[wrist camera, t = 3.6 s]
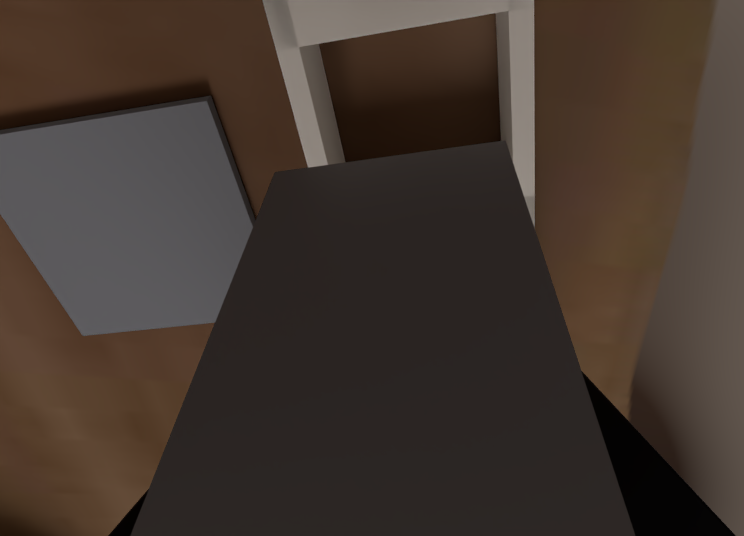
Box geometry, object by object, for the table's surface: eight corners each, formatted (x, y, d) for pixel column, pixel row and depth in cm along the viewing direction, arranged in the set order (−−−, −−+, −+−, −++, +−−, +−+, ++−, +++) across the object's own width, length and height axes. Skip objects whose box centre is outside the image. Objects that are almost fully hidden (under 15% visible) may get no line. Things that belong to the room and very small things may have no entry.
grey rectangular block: (511, 317, 13) (636, 886, 6) (325, 334, 14) (238, 867, 7) (505, 140, 10) (718, 787, 3) (274, 172, 11) (36, 770, 4)
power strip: (526, 470, 32) (537, 531, 29) (405, 476, 33) (405, 536, 30) (514, -101, 16) (538, -88, 13) (274, -53, 17) (247, -30, 14)
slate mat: (286, 307, 25) (285, 315, 25) (87, 328, 27) (82, 335, 27) (211, 95, 20) (206, 100, 19) (-40, 136, 21) (-48, 142, 21)
